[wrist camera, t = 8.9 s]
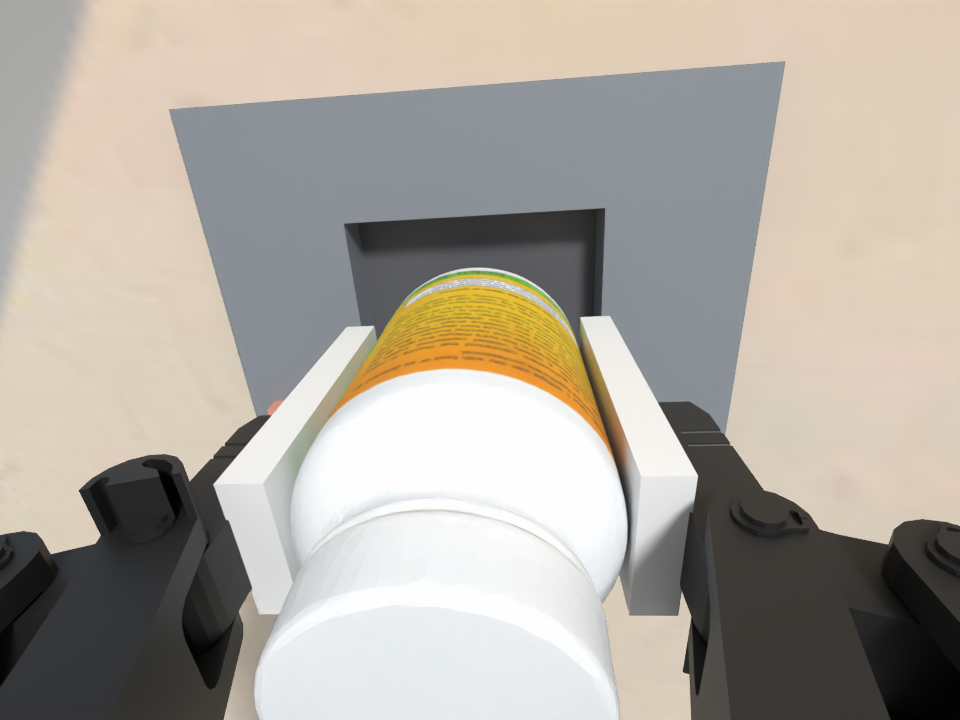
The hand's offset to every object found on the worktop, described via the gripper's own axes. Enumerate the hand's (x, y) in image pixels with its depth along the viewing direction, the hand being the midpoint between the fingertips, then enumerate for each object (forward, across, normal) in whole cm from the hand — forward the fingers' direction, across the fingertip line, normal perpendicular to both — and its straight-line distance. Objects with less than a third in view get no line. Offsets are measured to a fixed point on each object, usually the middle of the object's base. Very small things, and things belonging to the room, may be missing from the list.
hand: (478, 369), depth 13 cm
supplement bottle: (+1, 0, 0) cm, 1 cm away
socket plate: (+4, 0, 0) cm, 4 cm away
